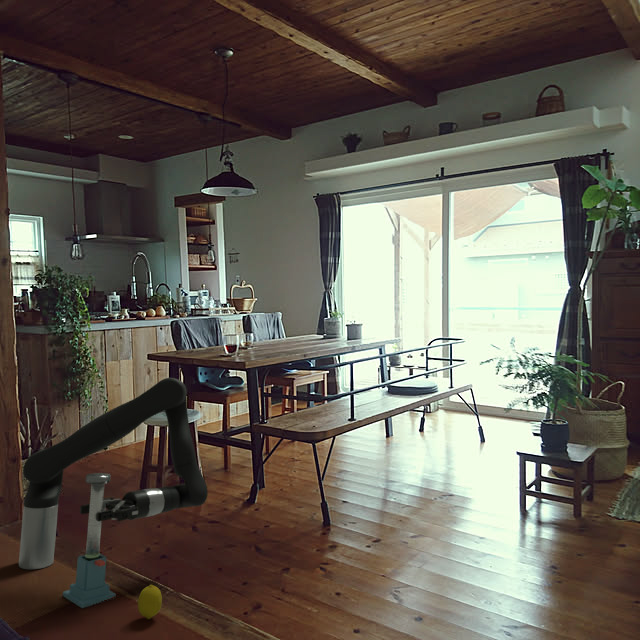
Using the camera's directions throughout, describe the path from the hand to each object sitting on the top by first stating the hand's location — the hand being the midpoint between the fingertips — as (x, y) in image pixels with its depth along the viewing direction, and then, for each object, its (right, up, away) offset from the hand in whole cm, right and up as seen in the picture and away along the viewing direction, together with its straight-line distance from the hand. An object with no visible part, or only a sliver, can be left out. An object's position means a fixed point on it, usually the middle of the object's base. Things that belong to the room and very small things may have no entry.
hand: (88, 513), depth 146 cm
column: (0, -15, 0) cm, 15 cm away
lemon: (+19, -22, -10) cm, 31 cm away
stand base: (0, -22, 0) cm, 22 cm away
